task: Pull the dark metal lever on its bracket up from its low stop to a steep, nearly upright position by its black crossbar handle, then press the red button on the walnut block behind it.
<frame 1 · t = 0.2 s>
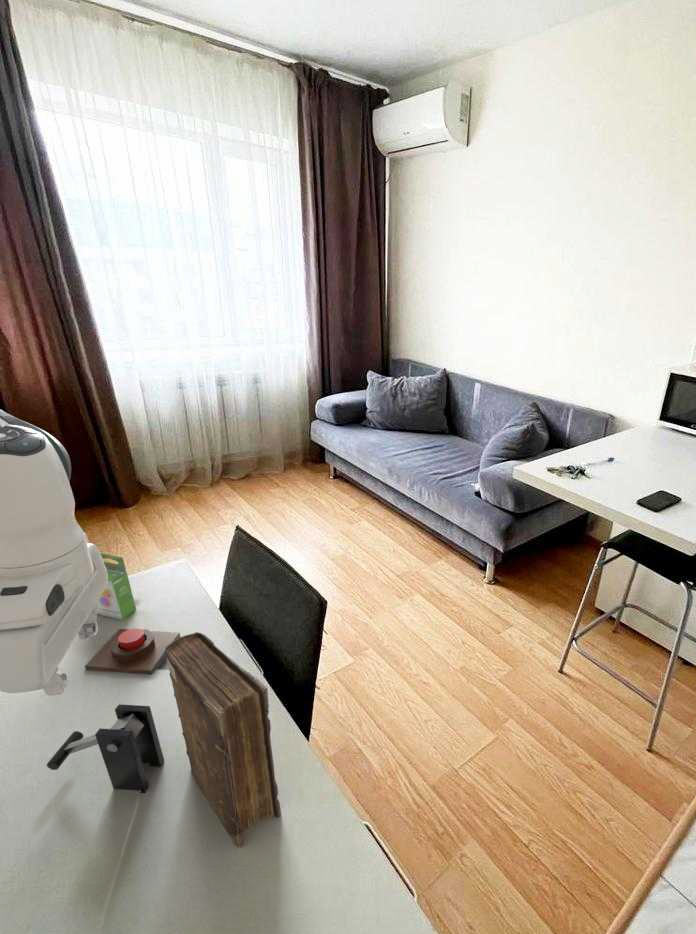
hand: (74, 660, 61), 24 cm above the table, tool pointing down, fingers open, 8 cm apart
button block: (136, 657, 94), on the table
bracket: (141, 781, 72), on the table
button: (131, 639, 92), point 4 cm above the table, slide at 0.1 cm
ink box: (116, 612, 105), on the table
lever: (97, 739, 69), point 9 cm above the table, hinge at -28.0°
book: (234, 795, 72), on the table
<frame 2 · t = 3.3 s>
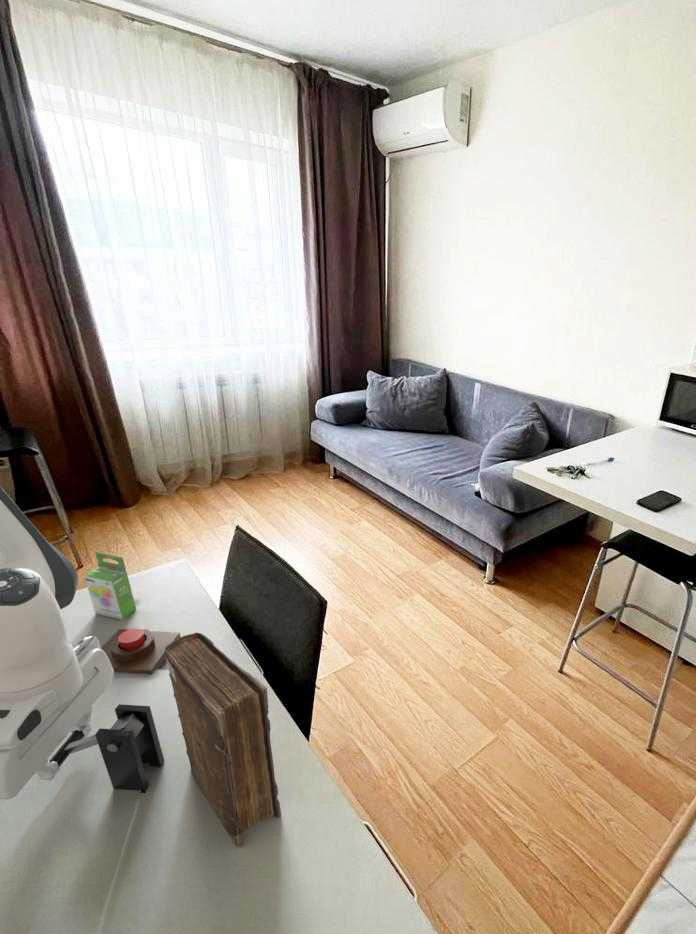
hand: (67, 754, 70), 5 cm above the table, tool pointing down, fingers closed on lever, 5 cm apart
lever: (97, 739, 69), point 9 cm above the table, hinge at -28.1°, touching gripper
everything else where it was.
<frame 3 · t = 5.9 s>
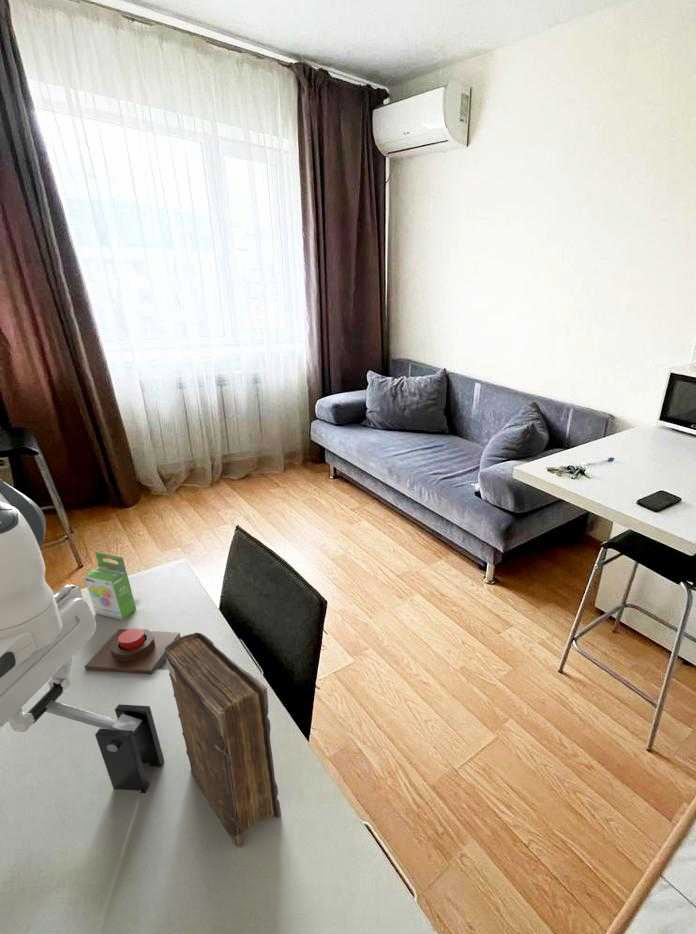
hand: (43, 707, 66), 14 cm above the table, tool pointing down, fingers closed on lever, 5 cm apart
lever: (87, 717, 67), point 13 cm above the table, hinge at 19.9°, touching gripper
everything else where it was.
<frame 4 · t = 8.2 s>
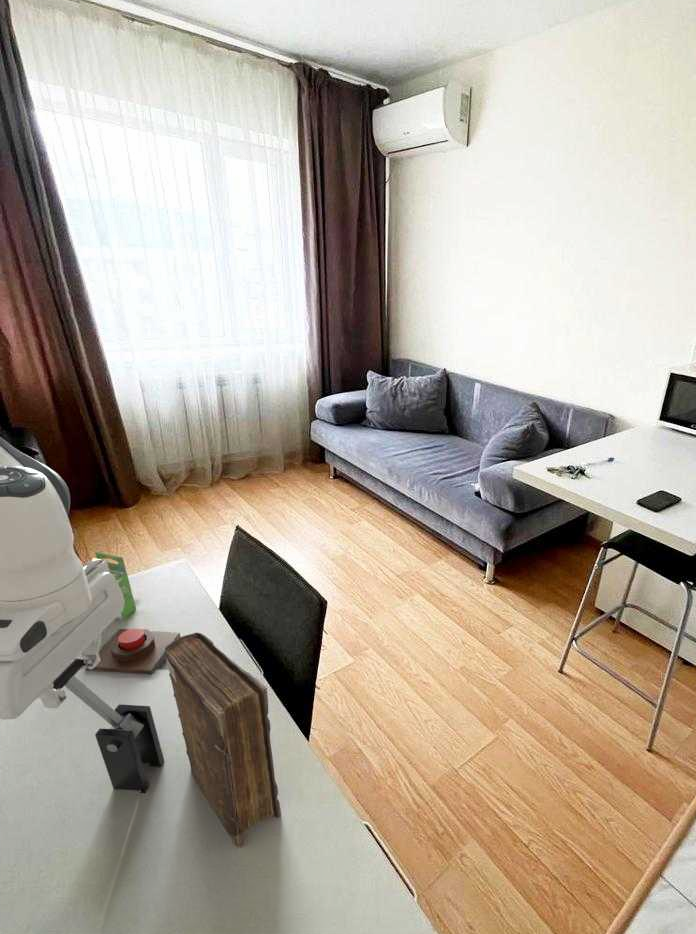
hand: (74, 683, 65), 19 cm above the table, tool pointing down, fingers closed on lever, 5 cm apart
lever: (97, 705, 66), point 15 cm above the table, hinge at 56.4°, touching gripper
everything else where it was.
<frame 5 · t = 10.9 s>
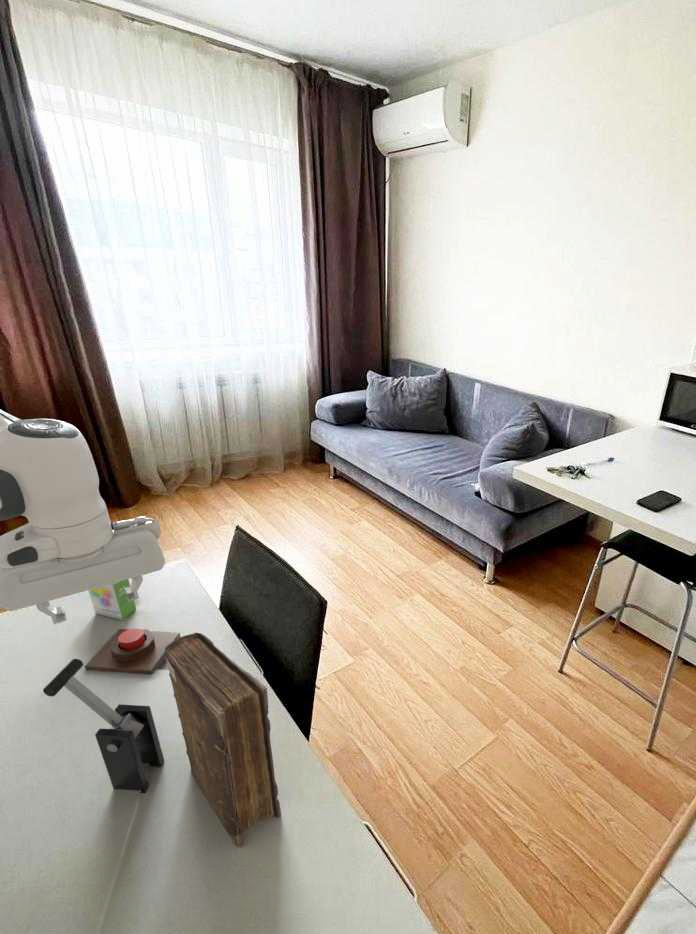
hand: (98, 609, 76), 20 cm above the table, tool pointing down, fingers open, 8 cm apart
lever: (97, 705, 66), point 15 cm above the table, hinge at 55.8°
everything else where it was.
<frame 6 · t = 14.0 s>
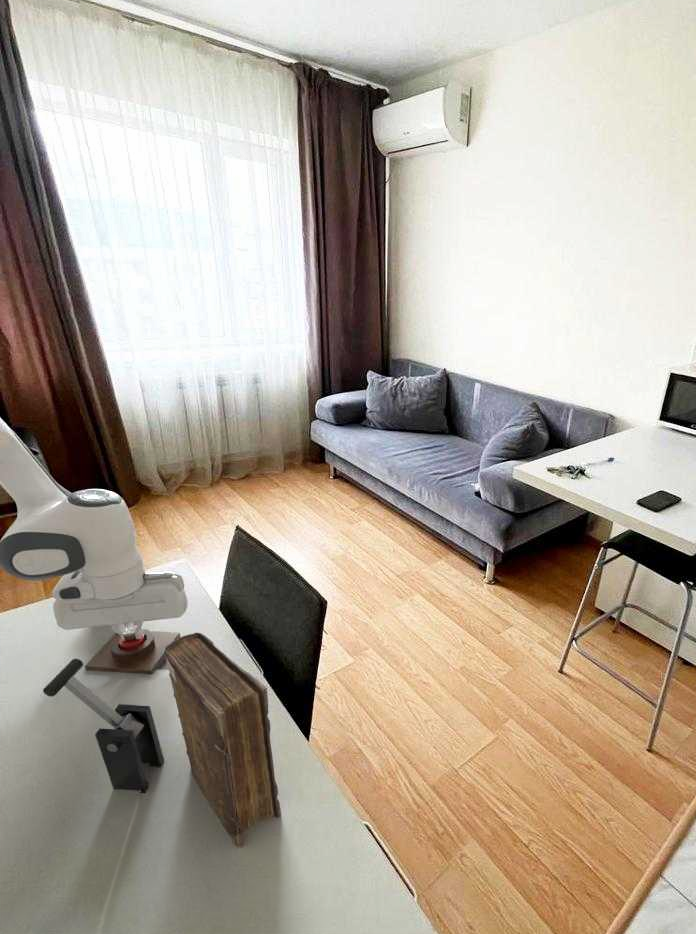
hand: (132, 637, 92), 5 cm above the table, tool pointing down, fingers closed, pressing on button
button: (132, 641, 92), point 4 cm above the table, slide at -0.6 cm, touching gripper
everything else where it was.
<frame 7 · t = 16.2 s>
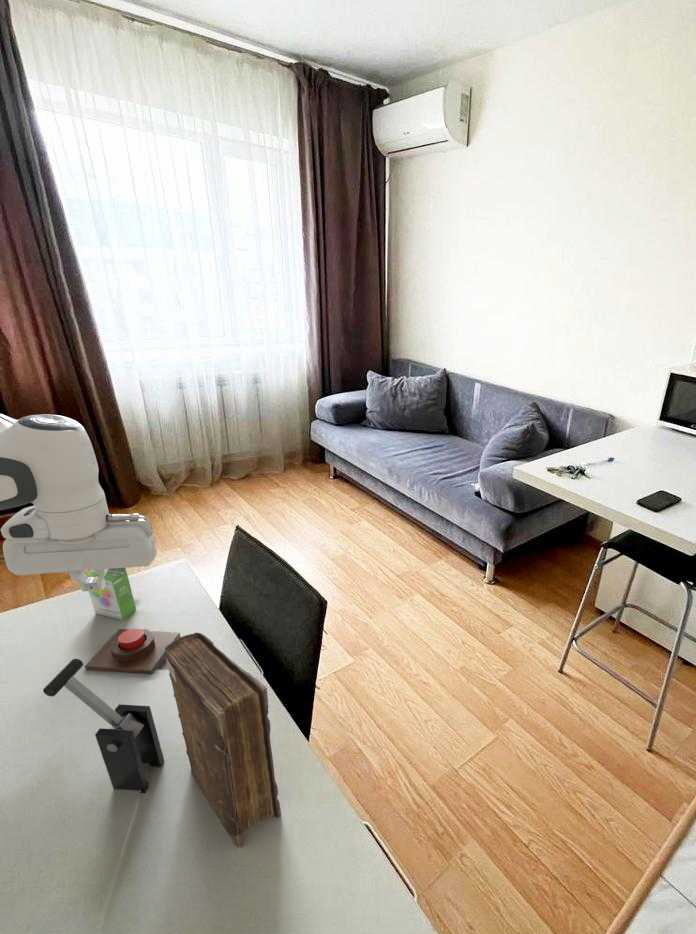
hand: (94, 588, 83), 18 cm above the table, tool pointing down, fingers closed
button: (131, 639, 92), point 4 cm above the table, slide at 0.1 cm
everything else where it was.
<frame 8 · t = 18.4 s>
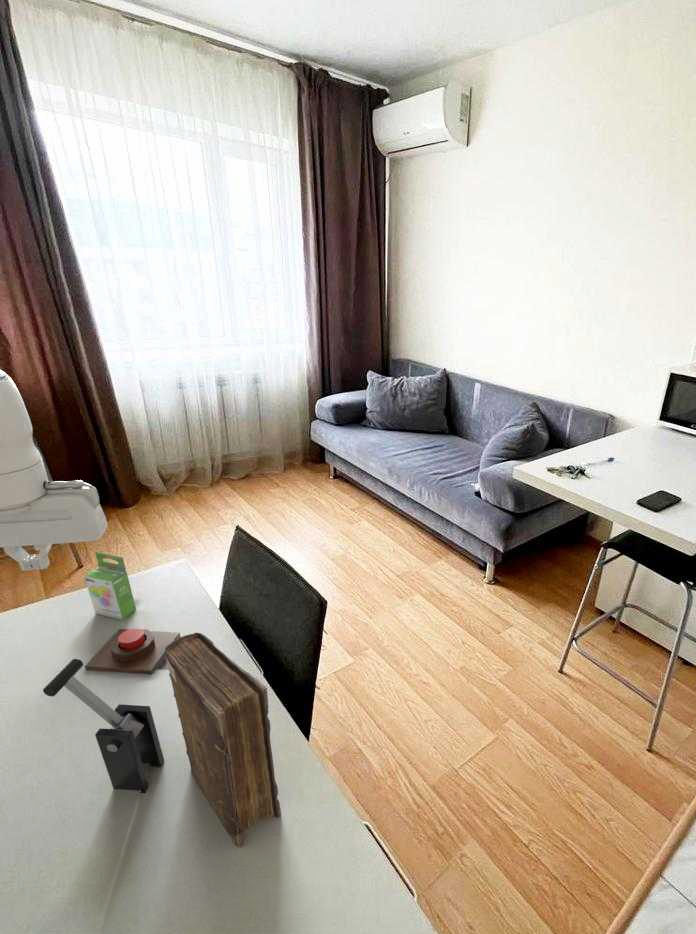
hand: (36, 567, 73), 27 cm above the table, tool pointing down, fingers closed
nothing on the table moved.
at the end: lever at +56° (first picture: -28°); button pushed in 1.0 cm at the most during the clip, back to where it started at the end; button slide at 0.1 cm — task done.
